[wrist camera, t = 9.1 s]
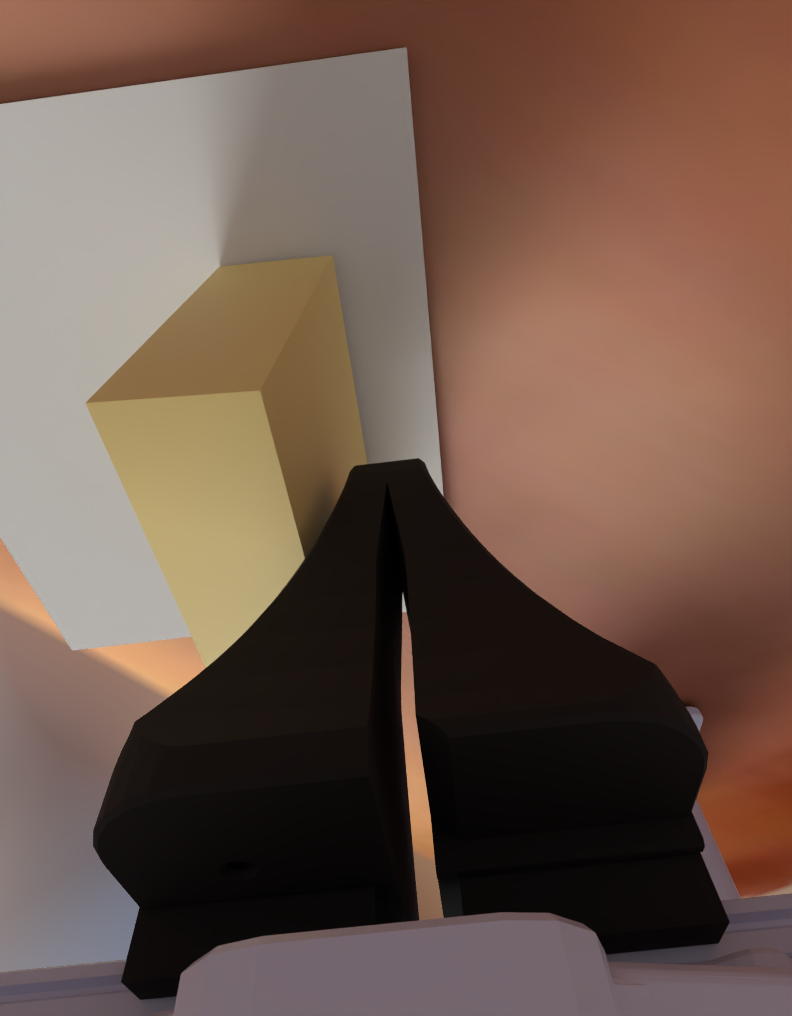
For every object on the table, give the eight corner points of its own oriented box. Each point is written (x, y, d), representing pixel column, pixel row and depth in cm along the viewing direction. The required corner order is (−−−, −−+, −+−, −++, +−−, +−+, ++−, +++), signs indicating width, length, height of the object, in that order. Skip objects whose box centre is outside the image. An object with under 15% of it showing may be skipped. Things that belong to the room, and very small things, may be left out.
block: (382, 551, 18) (355, 746, 13) (298, 554, 18) (241, 746, 13) (332, 255, 13) (260, 391, 8) (219, 266, 13) (85, 402, 8)
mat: (450, 595, 20) (452, 606, 19) (77, 638, 20) (72, 650, 20) (404, 47, 11) (406, 47, 11) (-232, 136, 12) (-253, 139, 11)
